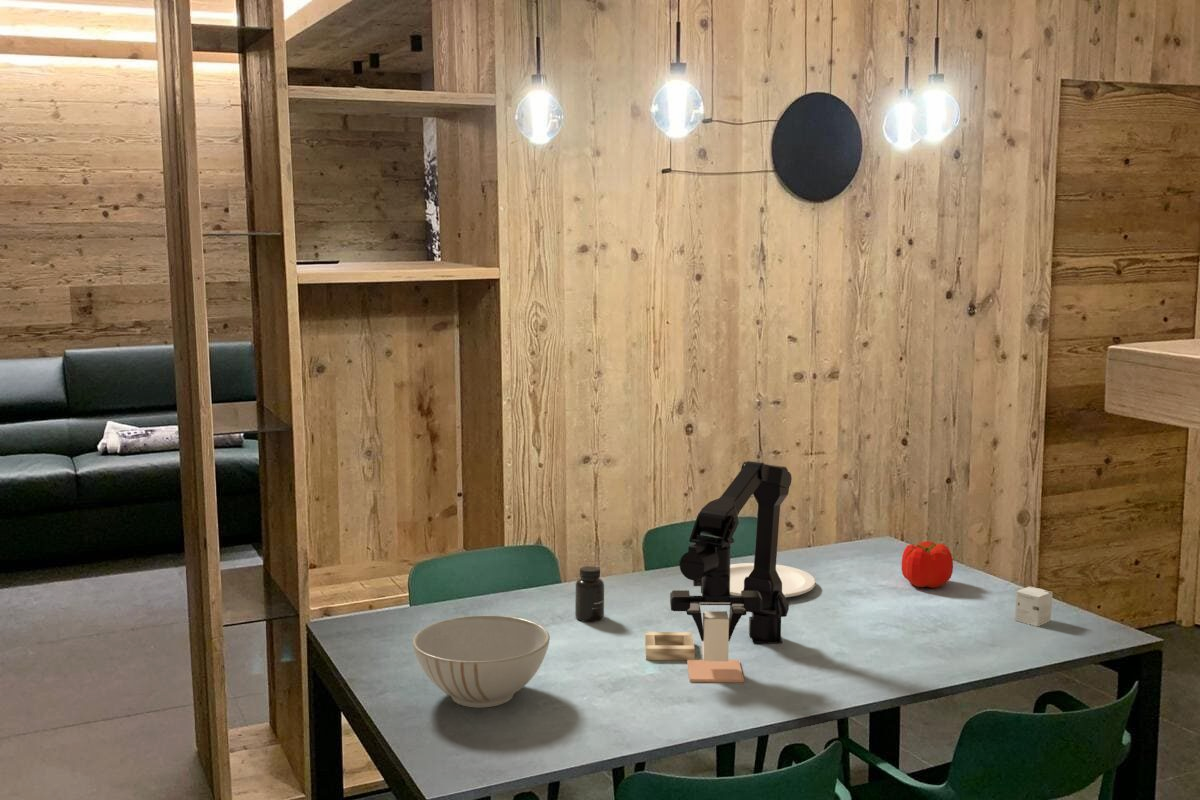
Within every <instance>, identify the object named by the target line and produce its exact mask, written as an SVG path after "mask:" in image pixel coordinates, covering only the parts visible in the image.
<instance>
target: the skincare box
mask: <svg viewBox="0 0 1200 800" xmlns="http://www.w3.org/2000/svg"><path fill="white" fill-rule="evenodd" d="M1053 596H1054V595H1053V591H1049V590H1046V589H1043V588H1038V587H1034V586H1026V587H1025V588H1021V589H1019V590H1016V598H1015V599H1016V600H1015V611H1014V621H1016V622H1019V623H1023V624H1026V623H1027V625H1030V624H1031V625H1030V626H1033V625H1035V626H1034V627H1036V626H1039V627H1041V626H1043V625H1045V624H1044V623H1046V624H1048V623H1050V622H1051V621H1052V619H1051V617H1052V606H1053ZM1049 621H1050V622H1049ZM1047 622H1048V623H1047ZM1042 624H1043V625H1042ZM1040 625H1041V626H1040Z"/></svg>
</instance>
